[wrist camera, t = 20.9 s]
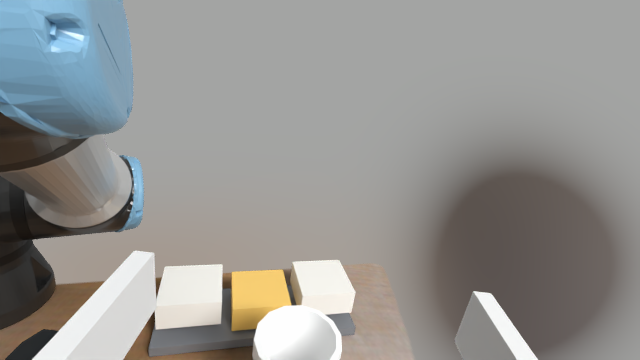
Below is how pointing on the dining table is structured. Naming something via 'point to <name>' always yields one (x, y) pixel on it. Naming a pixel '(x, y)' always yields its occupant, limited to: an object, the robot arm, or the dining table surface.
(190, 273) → the key
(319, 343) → the foam cup
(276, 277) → the amber key
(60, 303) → the dining table surface
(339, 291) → the key
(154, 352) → the keypad base
